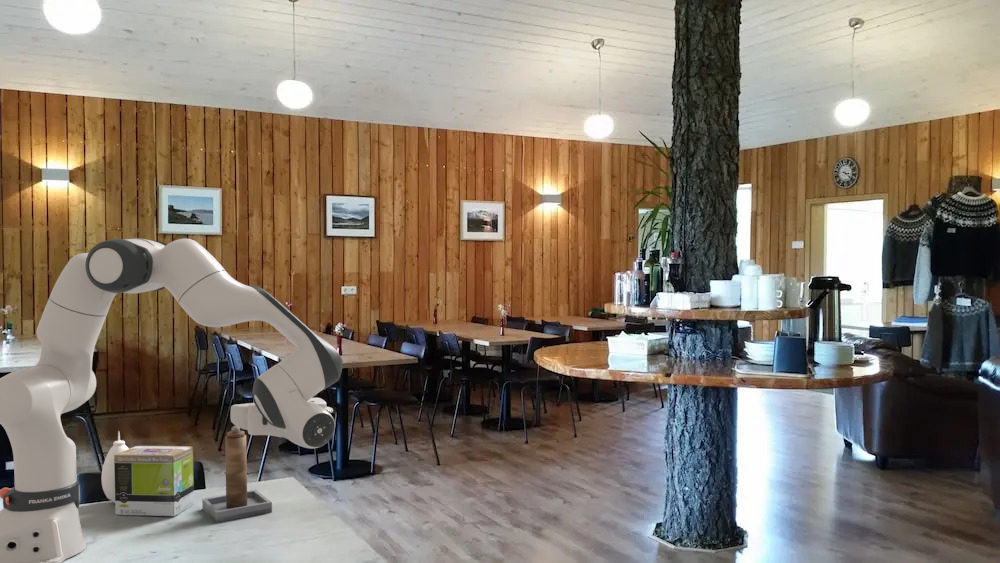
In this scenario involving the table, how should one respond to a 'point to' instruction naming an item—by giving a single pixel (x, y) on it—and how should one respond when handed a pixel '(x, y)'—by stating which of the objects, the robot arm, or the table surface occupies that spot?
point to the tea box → (154, 480)
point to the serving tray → (254, 507)
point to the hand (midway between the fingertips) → (268, 405)
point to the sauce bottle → (111, 468)
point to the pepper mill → (236, 468)
